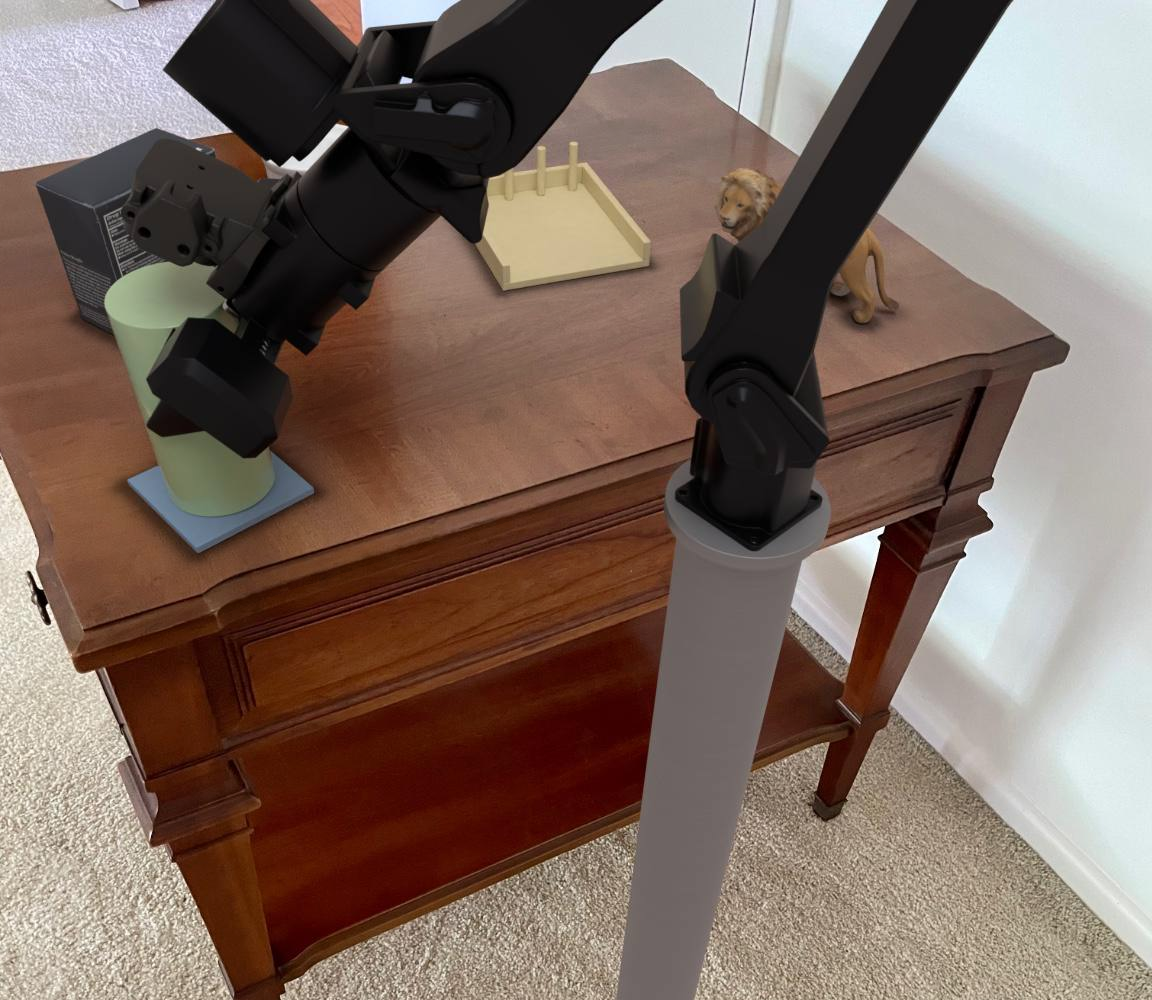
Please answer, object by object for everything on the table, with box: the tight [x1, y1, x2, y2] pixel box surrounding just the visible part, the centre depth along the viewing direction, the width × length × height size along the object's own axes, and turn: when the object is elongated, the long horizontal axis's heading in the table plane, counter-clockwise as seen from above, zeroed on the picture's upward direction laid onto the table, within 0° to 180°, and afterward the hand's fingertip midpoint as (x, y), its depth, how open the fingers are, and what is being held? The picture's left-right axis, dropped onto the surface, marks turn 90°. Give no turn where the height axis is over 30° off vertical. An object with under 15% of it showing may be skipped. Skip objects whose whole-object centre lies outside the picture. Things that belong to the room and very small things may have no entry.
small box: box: [34, 127, 218, 336], centre depth 79 cm, size 11×6×10 cm, turn 146°
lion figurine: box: [714, 167, 900, 324], centre depth 83 cm, size 15×5×9 cm, turn 73°
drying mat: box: [126, 450, 315, 554], centre depth 69 cm, size 8×8×1 cm
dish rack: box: [474, 141, 652, 291], centre depth 90 cm, size 14×12×5 cm
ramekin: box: [260, 123, 348, 179], centre depth 93 cm, size 9×9×4 cm
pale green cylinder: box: [104, 262, 275, 517], centre depth 64 cm, size 6×6×13 cm
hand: (172, 393), depth 64 cm, fingers closed on pale green cylinder, 6 cm apart
